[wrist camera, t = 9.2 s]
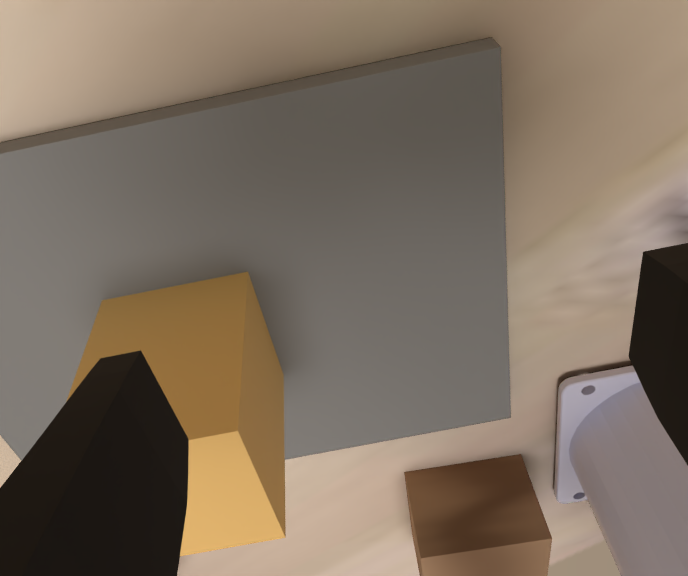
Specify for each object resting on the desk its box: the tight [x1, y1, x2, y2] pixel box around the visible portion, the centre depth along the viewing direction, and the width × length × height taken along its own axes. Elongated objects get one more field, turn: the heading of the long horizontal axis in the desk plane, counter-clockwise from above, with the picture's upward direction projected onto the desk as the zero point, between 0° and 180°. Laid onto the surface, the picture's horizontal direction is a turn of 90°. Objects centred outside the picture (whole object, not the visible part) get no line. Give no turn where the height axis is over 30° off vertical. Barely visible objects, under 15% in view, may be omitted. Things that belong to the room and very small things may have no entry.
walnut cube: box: [404, 454, 552, 576], centre depth 27 cm, size 5×5×4 cm
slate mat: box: [0, 37, 511, 461], centre depth 20 cm, size 18×14×1 cm
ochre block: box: [66, 272, 285, 556], centre depth 18 cm, size 4×4×6 cm
